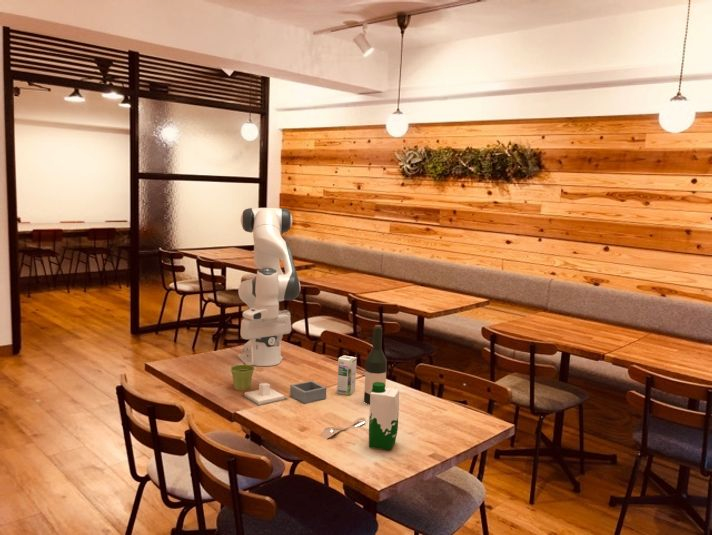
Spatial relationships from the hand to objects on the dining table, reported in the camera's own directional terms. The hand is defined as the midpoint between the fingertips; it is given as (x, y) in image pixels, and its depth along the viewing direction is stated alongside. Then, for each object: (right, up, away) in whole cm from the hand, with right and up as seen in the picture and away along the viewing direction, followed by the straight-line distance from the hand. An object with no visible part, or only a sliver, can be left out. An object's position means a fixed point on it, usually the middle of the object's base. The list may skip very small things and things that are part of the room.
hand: (266, 347), depth 227 cm
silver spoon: (+30, -25, -23) cm, 45 cm away
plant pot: (-11, -18, +12) cm, 25 cm away
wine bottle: (+41, -22, +5) cm, 47 cm away
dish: (+15, -20, +4) cm, 26 cm away
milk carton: (+42, -27, -34) cm, 60 cm away
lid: (-1, -19, +3) cm, 19 cm away
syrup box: (+30, -20, +14) cm, 38 cm away
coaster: (-1, -20, +3) cm, 20 cm away
